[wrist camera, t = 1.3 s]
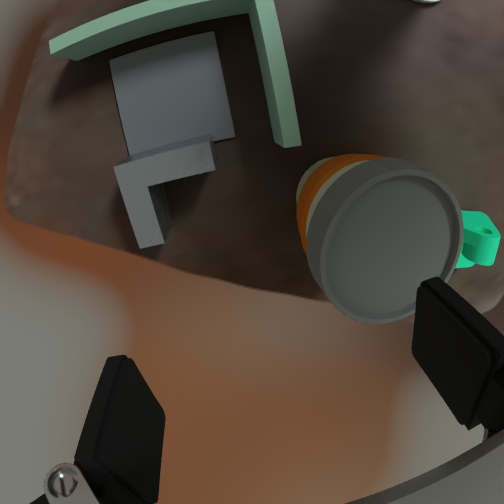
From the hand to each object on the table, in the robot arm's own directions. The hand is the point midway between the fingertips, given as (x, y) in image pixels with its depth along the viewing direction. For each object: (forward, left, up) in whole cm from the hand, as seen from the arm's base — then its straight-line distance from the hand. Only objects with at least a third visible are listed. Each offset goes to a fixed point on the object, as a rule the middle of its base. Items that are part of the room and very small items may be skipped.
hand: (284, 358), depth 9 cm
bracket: (-1, -6, -26) cm, 26 cm away
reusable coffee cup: (+4, +10, -26) cm, 28 cm away
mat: (-10, -5, -26) cm, 28 cm away
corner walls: (-11, -5, -26) cm, 28 cm away
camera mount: (+11, +25, -26) cm, 38 cm away
